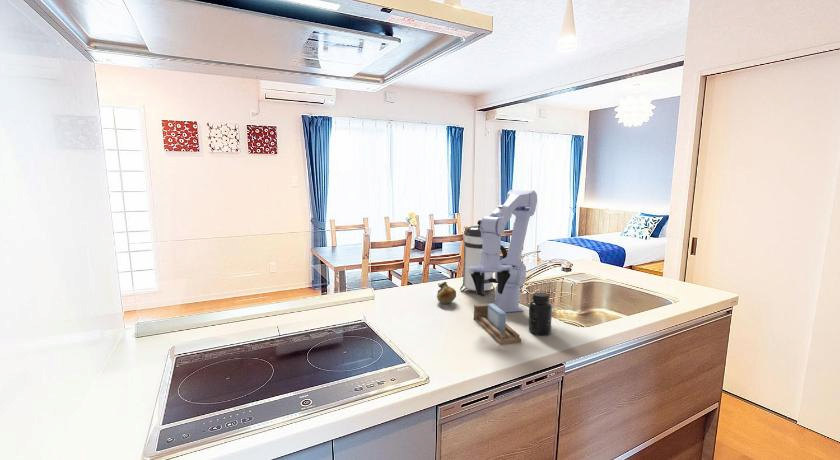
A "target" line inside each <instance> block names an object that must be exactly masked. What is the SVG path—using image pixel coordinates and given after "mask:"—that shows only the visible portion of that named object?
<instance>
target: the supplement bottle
mask: <svg viewBox="0 0 840 460" xmlns="http://www.w3.org/2000/svg"><path fill="white" fill-rule="evenodd" d="M531 299H532V301H531V302H530V303H529V306H528V307H529V308H528V331H529V332H530V333H532V334H534V335H539V336H547V335H549V334H551V332H552V314H553V313H552V312H553V307H552V304H551V303H550V302H549V301H550V294H548V293H545V292H534V293H532V298H531Z"/></svg>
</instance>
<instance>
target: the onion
mask: <svg viewBox="0 0 840 460" xmlns="http://www.w3.org/2000/svg"><path fill="white" fill-rule="evenodd" d="M447 283H448V282H447V281H444V282H440V283H438V284H437V286H438V287H439V288H440V289H438V291H437V294H436V299H437V301H438V302H439V303H440V304H443V305H448V304H451V303H452V302H453V301H454V300H455V299H456V297H457V292H456V291H457V290H455V288H453V287H451V286H449V285H448V284H447Z"/></svg>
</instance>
